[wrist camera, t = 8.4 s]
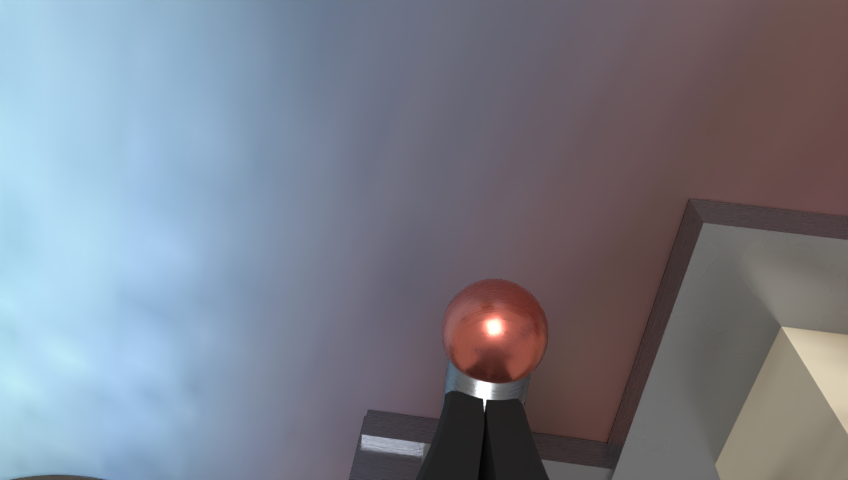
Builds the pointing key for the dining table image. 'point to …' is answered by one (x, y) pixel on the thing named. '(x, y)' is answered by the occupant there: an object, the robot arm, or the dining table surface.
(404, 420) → the grey panel board
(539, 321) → the lever
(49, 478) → the plant saucer
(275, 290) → the dining table surface
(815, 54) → the dining table surface
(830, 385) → the block
